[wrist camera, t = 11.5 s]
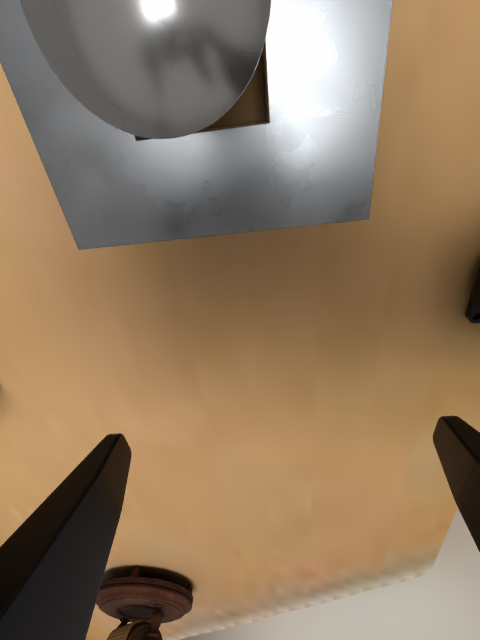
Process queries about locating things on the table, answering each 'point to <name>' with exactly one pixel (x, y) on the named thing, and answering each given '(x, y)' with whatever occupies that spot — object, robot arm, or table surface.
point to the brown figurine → (142, 605)
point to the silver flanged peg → (152, 58)
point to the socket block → (220, 136)
